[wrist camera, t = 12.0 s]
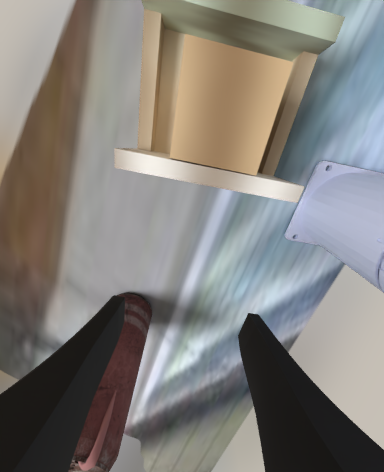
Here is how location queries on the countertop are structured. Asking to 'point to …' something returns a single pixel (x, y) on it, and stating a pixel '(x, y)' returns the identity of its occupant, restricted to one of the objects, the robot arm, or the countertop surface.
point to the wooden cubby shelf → (234, 34)
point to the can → (114, 393)
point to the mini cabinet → (226, 104)
